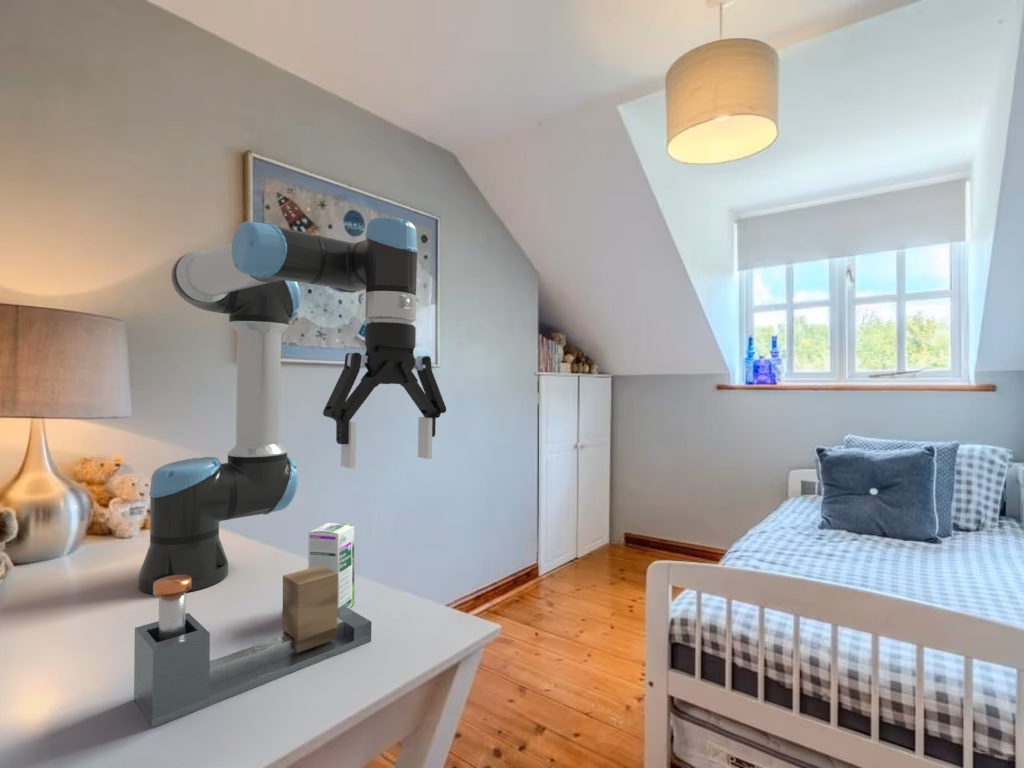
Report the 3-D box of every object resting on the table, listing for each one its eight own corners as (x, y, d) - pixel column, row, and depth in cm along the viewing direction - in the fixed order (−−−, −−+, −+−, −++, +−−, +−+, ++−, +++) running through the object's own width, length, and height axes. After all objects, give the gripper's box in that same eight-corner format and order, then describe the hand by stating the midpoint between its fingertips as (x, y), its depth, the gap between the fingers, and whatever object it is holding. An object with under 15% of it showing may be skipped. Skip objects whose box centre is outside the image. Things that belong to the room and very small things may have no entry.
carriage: (282, 642, 80) (282, 575, 80) (320, 628, 84) (321, 565, 84) (297, 654, 76) (298, 584, 76) (336, 639, 81) (337, 573, 81)
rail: (134, 699, 68) (134, 627, 67) (343, 624, 89) (344, 569, 89) (152, 728, 62) (153, 650, 62) (371, 640, 83) (372, 582, 83)
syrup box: (338, 618, 91) (339, 532, 91) (306, 615, 92) (307, 530, 92) (354, 604, 96) (356, 523, 96) (324, 601, 98) (325, 521, 97)
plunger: (148, 662, 67) (149, 580, 67) (184, 650, 70) (185, 572, 70) (157, 675, 64) (158, 589, 64) (195, 662, 67) (196, 580, 67)
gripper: (325, 313, 71) (322, 474, 71) (468, 328, 89) (466, 457, 89) (299, 317, 76) (297, 467, 76) (440, 330, 94) (438, 452, 94)
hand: (388, 462), depth 83 cm, fingers open, 13 cm apart
